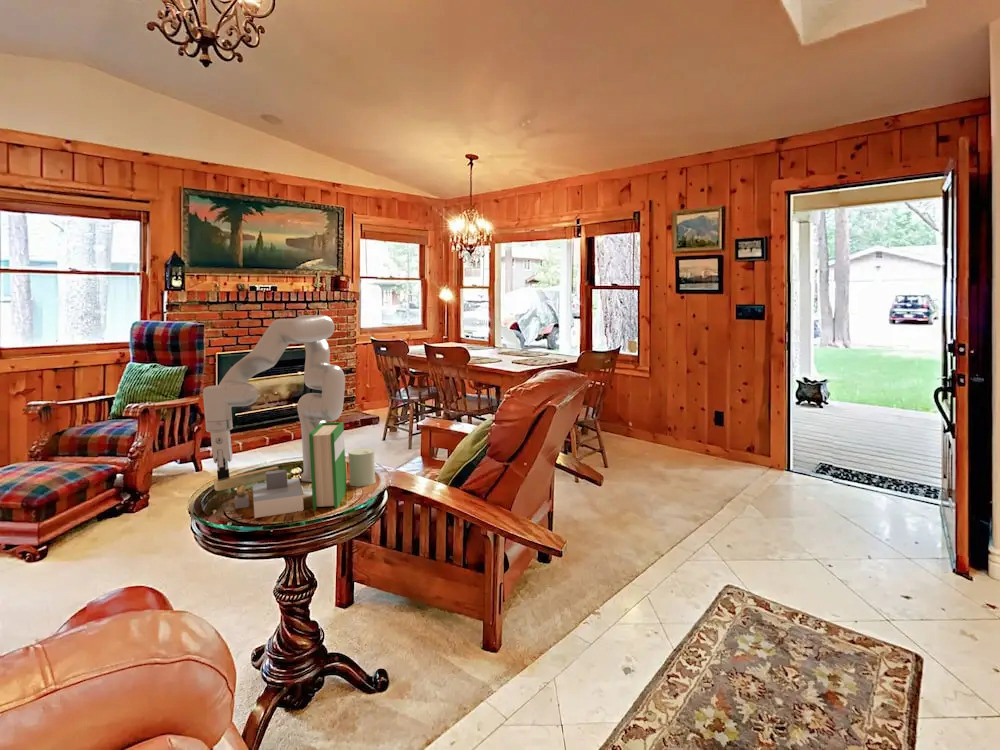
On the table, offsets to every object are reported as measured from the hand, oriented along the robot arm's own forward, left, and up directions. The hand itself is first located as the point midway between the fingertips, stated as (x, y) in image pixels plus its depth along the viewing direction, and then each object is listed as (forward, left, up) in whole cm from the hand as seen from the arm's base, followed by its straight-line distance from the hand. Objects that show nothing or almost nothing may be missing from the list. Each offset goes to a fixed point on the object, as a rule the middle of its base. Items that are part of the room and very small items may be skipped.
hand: (224, 481), depth 178 cm
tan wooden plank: (-7, 0, -5) cm, 9 cm away
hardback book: (-31, +8, -8) cm, 33 cm away
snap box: (-12, +7, -8) cm, 16 cm away
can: (-44, -6, -8) cm, 45 cm away
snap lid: (-15, +8, -3) cm, 17 cm away
